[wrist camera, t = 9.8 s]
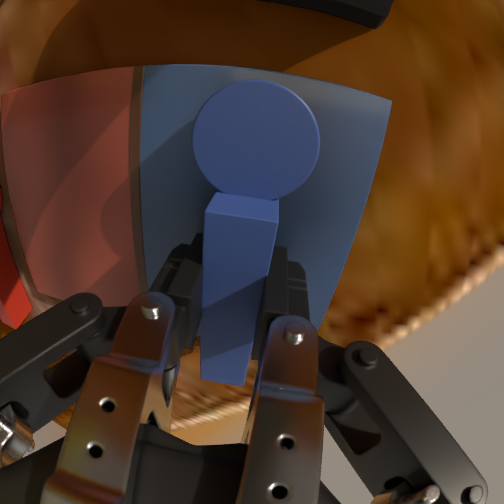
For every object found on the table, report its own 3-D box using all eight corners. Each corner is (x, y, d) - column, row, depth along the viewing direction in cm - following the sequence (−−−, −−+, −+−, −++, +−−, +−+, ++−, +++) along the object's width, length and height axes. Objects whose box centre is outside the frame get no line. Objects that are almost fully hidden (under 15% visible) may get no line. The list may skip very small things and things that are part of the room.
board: (41, 286, 15) (36, 292, 15) (8, 92, 8) (-1, 94, 8) (307, 344, 15) (308, 353, 15) (387, 100, 8) (393, 101, 8)
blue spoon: (193, 335, 14) (181, 375, 12) (206, 76, 8) (180, 71, 5) (265, 347, 14) (262, 389, 12) (324, 92, 8) (342, 93, 5)
